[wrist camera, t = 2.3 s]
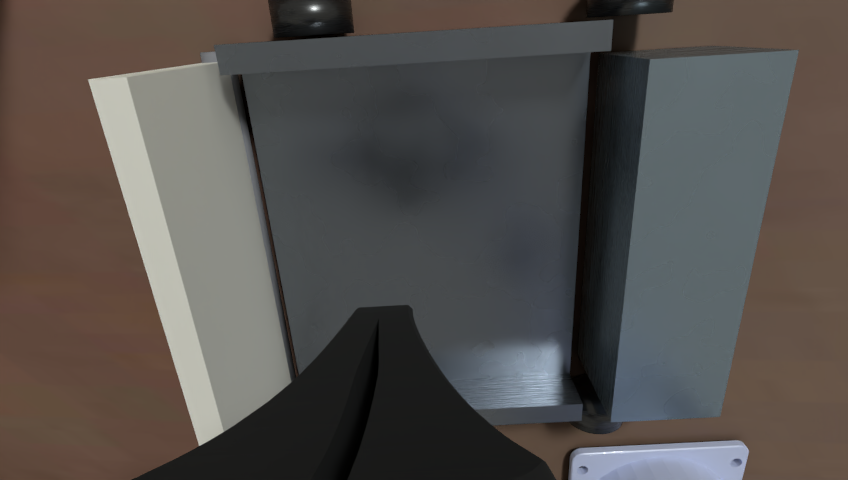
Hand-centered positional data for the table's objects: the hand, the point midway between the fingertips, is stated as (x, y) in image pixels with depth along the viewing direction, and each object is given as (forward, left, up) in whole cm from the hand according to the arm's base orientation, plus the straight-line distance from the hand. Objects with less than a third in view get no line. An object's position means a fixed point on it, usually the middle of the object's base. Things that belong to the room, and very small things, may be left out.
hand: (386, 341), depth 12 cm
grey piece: (0, -3, -7) cm, 8 cm away
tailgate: (0, +5, -7) cm, 8 cm away
